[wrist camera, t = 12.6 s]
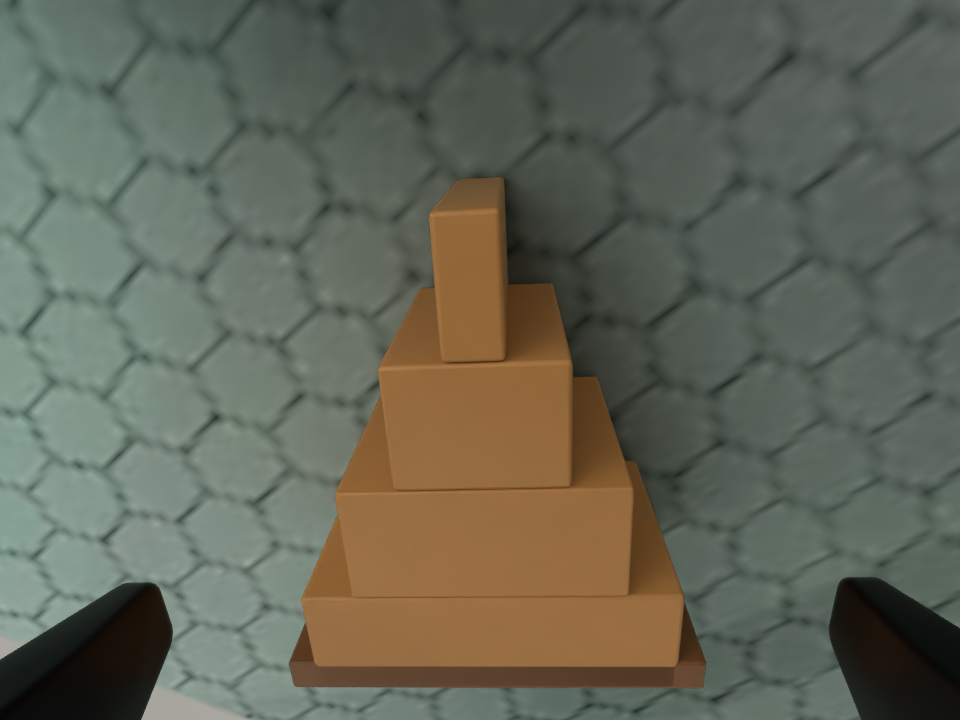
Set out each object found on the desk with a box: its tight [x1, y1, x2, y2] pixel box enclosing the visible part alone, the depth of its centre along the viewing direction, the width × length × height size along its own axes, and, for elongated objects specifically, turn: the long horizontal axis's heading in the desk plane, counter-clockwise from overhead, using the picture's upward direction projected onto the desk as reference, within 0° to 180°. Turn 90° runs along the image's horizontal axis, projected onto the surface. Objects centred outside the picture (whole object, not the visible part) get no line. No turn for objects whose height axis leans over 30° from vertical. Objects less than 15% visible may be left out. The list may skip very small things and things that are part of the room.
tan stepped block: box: [289, 177, 706, 688], centre depth 10 cm, size 8×7×4 cm
